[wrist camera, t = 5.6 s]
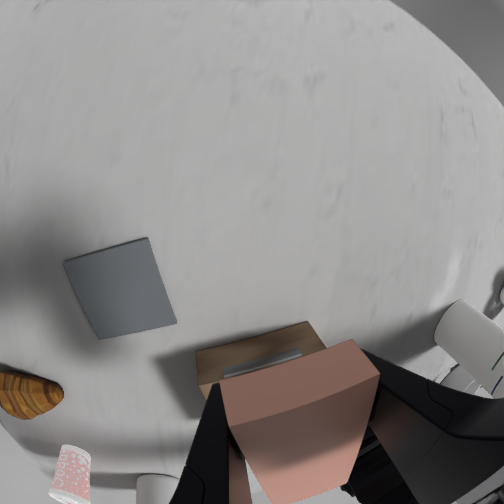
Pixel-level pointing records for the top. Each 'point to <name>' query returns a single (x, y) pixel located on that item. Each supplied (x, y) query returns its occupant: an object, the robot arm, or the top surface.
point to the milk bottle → (155, 489)
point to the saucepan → (461, 381)
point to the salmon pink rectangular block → (302, 420)
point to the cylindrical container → (474, 345)
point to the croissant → (28, 394)
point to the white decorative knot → (502, 295)
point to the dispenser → (255, 354)
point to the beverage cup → (72, 476)
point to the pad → (121, 289)
